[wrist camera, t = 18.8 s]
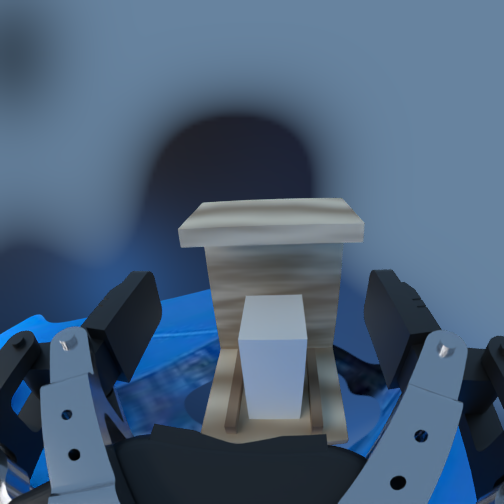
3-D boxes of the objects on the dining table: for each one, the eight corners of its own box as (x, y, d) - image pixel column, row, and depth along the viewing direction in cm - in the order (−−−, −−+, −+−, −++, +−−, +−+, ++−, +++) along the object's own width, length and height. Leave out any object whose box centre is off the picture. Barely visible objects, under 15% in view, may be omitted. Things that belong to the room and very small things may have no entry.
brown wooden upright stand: (346, 443, 21) (400, 266, 13) (200, 442, 22) (139, 272, 15) (330, 343, 35) (341, 197, 27) (223, 345, 36) (202, 202, 28)
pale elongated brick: (299, 418, 24) (307, 338, 19) (249, 418, 24) (238, 339, 20) (297, 373, 30) (301, 292, 25) (253, 374, 30) (246, 293, 26)
